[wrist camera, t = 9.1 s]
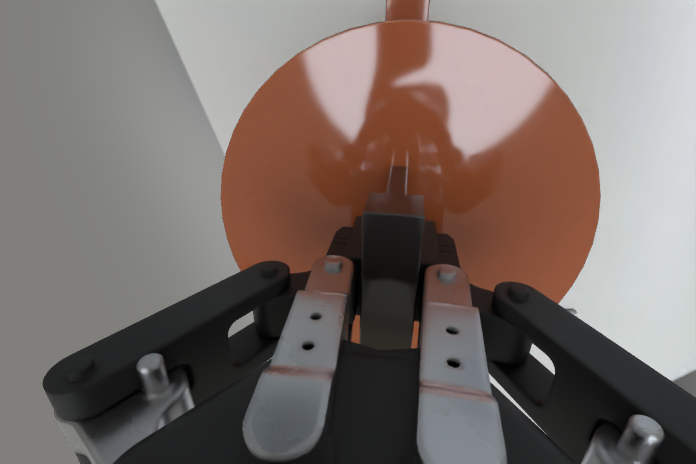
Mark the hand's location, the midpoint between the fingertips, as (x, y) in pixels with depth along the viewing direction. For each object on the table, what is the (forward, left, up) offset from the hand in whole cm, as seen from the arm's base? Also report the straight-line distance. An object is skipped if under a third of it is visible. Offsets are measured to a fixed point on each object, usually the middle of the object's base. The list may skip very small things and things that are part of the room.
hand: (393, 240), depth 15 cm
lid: (0, 0, -2) cm, 2 cm away
